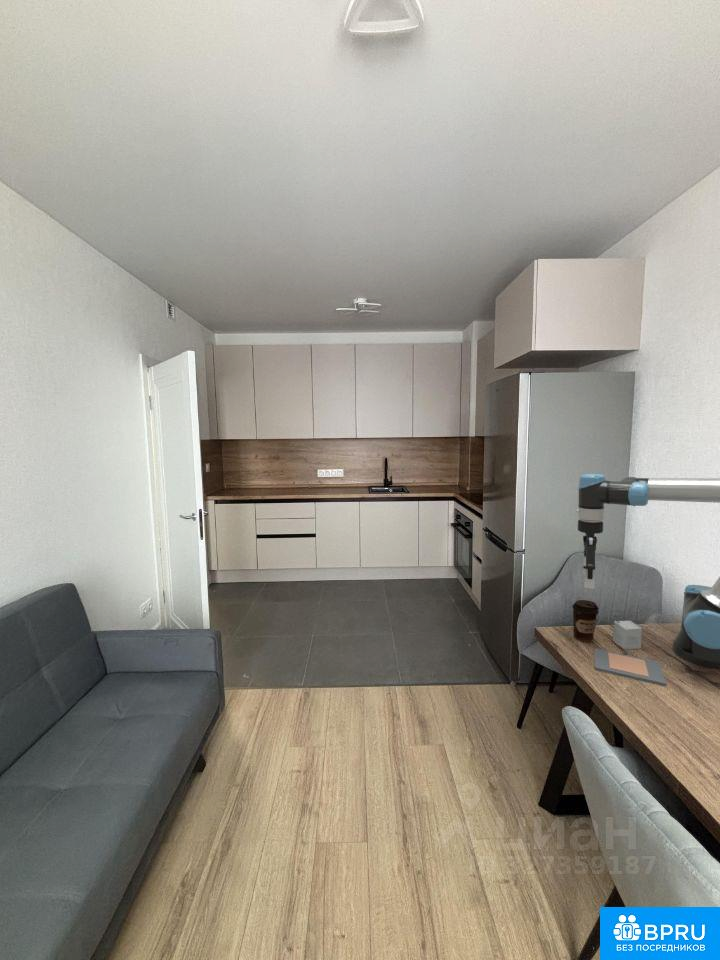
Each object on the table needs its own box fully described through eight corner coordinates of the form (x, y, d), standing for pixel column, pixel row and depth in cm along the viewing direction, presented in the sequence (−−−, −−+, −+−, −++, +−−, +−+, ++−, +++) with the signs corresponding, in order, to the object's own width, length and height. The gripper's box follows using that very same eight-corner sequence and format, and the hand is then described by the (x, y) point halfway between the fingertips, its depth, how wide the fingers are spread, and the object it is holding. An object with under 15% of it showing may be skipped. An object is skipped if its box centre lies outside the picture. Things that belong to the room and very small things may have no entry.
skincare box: (641, 649, 142) (642, 628, 141) (623, 649, 142) (625, 628, 141) (629, 640, 148) (630, 620, 147) (612, 640, 148) (613, 620, 147)
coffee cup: (602, 644, 145) (605, 608, 143) (577, 644, 145) (580, 608, 143) (589, 632, 153) (591, 598, 152) (566, 632, 154) (568, 598, 152)
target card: (658, 664, 133) (659, 661, 133) (666, 686, 121) (666, 683, 121) (593, 650, 141) (594, 647, 141) (594, 669, 130) (595, 666, 130)
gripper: (577, 513, 154) (575, 569, 156) (578, 526, 132) (576, 592, 134) (600, 514, 151) (598, 571, 153) (606, 528, 129) (603, 595, 131)
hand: (588, 581), depth 144 cm, fingers open, 13 cm apart
